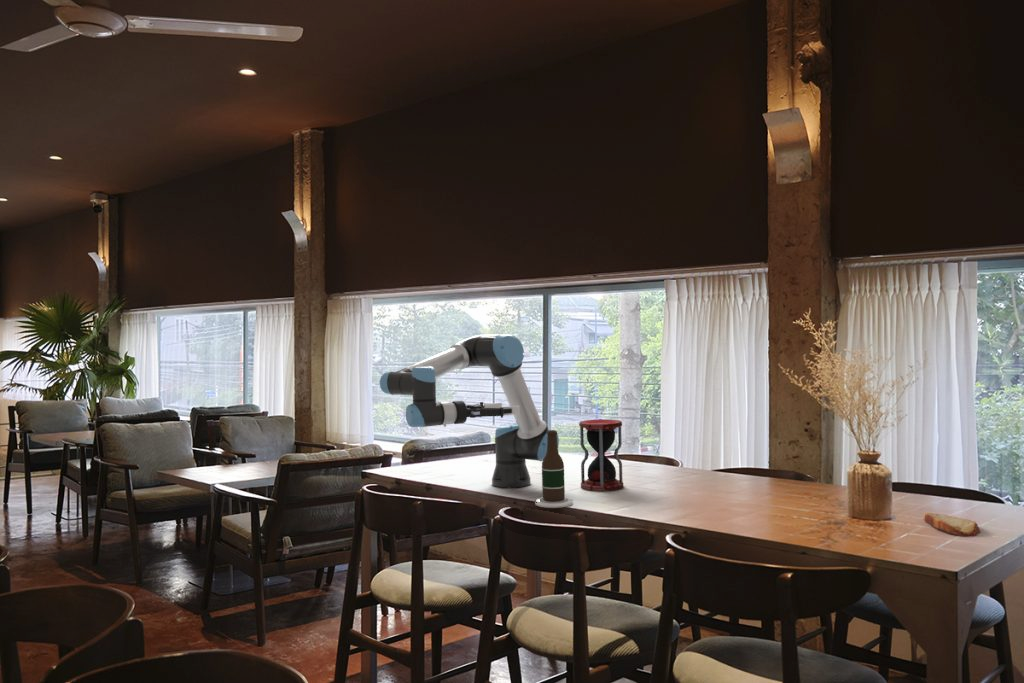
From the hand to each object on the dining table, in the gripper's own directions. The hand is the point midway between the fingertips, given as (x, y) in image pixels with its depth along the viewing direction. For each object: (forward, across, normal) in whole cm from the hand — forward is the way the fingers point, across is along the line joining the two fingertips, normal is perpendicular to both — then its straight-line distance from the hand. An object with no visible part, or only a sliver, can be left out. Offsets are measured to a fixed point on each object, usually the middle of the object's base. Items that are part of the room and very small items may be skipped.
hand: (510, 408), depth 281 cm
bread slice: (+95, +94, -35) cm, 138 cm away
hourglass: (+44, -12, -34) cm, 57 cm away
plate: (+14, +3, -34) cm, 37 cm away
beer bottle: (+14, +3, -33) cm, 36 cm away
